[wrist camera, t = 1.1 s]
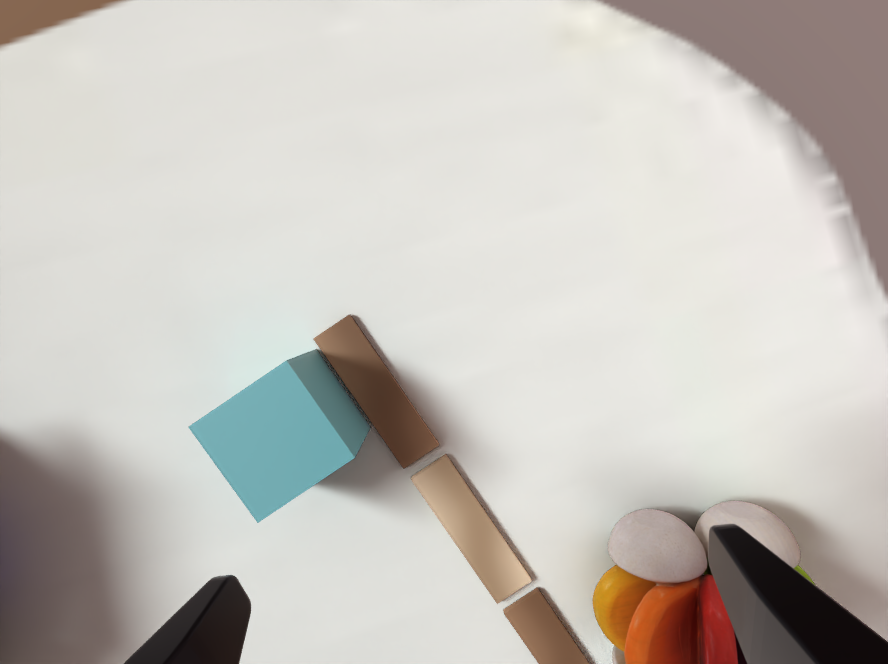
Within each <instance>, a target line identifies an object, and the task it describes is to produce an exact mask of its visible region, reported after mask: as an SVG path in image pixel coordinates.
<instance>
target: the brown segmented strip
mask: <svg viewBox="0 0 888 664" xmlns="http://www.w3.org/2000/svg"><path fill="white" fill-rule="evenodd" d="M314 340H315V342H316V343H317V345H318V346H319V348H320V349H321V350H322V352H323V353H324V355H325V356H326V358H327V359H328V361H329V362H330V363H331V365H332V366H333V368H334V369H335V371H336V372H337V374H338V375H339V376H340V378H341V379H342V381H343V382H344V384H345V385H346V387H347V388H348V389H349V391H350V392H351V394H352V395H353V397H354V398H355V399H356V401H357V402H358V404H359V405H360V407H361V408H362V410H363V411H364V412H365V414H366V415H367V417H368V418H369V420H370V421H371V423H372V424H373V425H374V427H375V428H376V430H377V431H378V433H379V434H380V436H381V437H382V438H383V440H384V441H385V443H386V444H387V446H388V447H389V448H390V450H391V451H392V453H393V454H394V456H395V457H396V459H397V460H398V461H399V463H400V464H401V466H402V467H403V469H404V468H406V467H407V466H409V465H410V464H412V463H413V462H415V461H416V460H418V459H419V458H421V457H422V456H424V455H425V454H427V453H428V452H430V451H431V450H433V449H434V448H436V447H437V446H439V443H438V441H437V440H436V439H435V437H434V436H433V434H432V433H431V431H430V430H429V428H428V427H427V425H426V424H425V422H424V421H423V420H422V418H421V417H420V415H419V414H418V412H417V411H416V409H415V408H414V406H413V405H412V404H411V402H410V401H409V399H408V398H407V396H406V395H405V393H404V392H403V390H402V389H401V387H400V386H399V385H398V383H397V382H396V380H395V379H394V377H393V376H392V374H391V373H390V371H389V370H388V368H387V367H386V366H385V364H384V363H383V361H382V360H381V358H380V357H379V355H378V354H377V352H376V351H375V350H374V348H373V347H372V345H371V344H370V342H369V341H368V339H367V338H366V336H365V335H364V333H363V332H362V331H361V329H360V328H359V326H358V325H357V323H356V322H355V320H354V319H353V317H352V316H351V315H348V316H346V317H345V318H343V319H342V320H340V321H339V322H338V323H336V324H335V325H333V326H332V327H330V328H329V329H327V330H326V331H324V332H323V333H321V334H320V335H318V336H317V337H315V338H314ZM411 480H412V482H413V483H414V485H415V486H416V487H417V489H418V490H419V492H420V493H421V495H422V496H423V498H424V499H425V500H426V502H427V503H428V505H429V506H430V508H431V509H432V510H433V512H434V513H435V515H436V516H437V518H438V519H439V521H440V522H441V523H442V525H443V526H444V528H445V529H446V531H447V532H448V534H449V535H450V536H451V538H452V539H453V541H454V542H455V544H456V545H457V547H458V548H459V549H460V551H461V552H462V554H463V555H464V557H465V558H466V559H467V561H468V562H469V564H470V565H471V567H472V568H473V570H474V571H475V572H476V574H477V575H478V577H479V578H480V580H481V581H482V583H483V584H484V585H485V587H486V588H487V590H488V591H489V593H490V594H491V596H492V597H493V598H494V600H495V601H496V603H497V604H498V603H499V602H501V601H502V600H504V599H505V598H507V597H508V596H510V595H512V594H513V593H515V592H516V591H518V590H519V589H521V588H522V587H524V586H525V585H527V584H528V583H530V582H531V581H532V580H531V577H530V576H529V574H528V573H527V571H526V570H525V568H524V567H523V565H522V564H521V563H520V561H519V560H518V558H517V557H516V555H515V554H514V552H513V551H512V549H511V548H510V547H509V545H508V544H507V542H506V541H505V539H504V538H503V536H502V535H501V533H500V532H499V530H498V529H497V528H496V526H495V525H494V523H493V522H492V520H491V519H490V517H489V516H488V514H487V513H486V511H485V510H484V509H483V507H482V506H481V504H480V503H479V501H478V500H477V498H476V497H475V495H474V494H473V493H472V491H471V490H470V488H469V487H468V485H467V484H466V482H465V481H464V479H463V478H462V476H461V475H460V474H459V472H458V471H457V469H456V468H455V466H454V465H453V463H452V462H451V460H450V459H449V458H448V456H447V455H446V454H445V455H443V456H442V457H440V458H439V459H437V460H436V461H434V462H433V463H431V464H430V465H428V466H427V467H425V468H424V469H422V470H421V471H419V472H418V473H416V474H415V475H413V476H412V477H411ZM503 611H504V614H505V616H506V617H507V619H508V620H509V621H510V623H511V624H512V626H513V627H514V629H515V630H516V632H517V633H518V634H519V636H520V637H521V639H522V640H523V642H524V643H525V645H526V646H527V647H528V649H529V650H530V652H531V653H532V655H533V656H534V658H535V659H536V660H537V662H538V663H539V664H590V663H589V662H588V660H587V659H586V657H585V656H584V654H583V653H582V652H581V650H580V649H579V647H578V646H577V644H576V643H575V641H574V640H573V638H572V637H571V636H570V634H569V633H568V631H567V630H566V628H565V627H564V625H563V624H562V622H561V621H560V619H559V618H558V617H557V615H556V614H555V612H554V611H553V609H552V608H551V606H550V605H549V603H548V602H547V600H546V599H545V598H544V596H543V595H542V593H541V592H540V590H539V589H538V587H537V588H535V589H534V590H532V591H531V592H529V593H528V594H526V595H525V596H523V597H522V598H520V599H519V600H517V601H516V602H514V603H513V604H511V605H510V606H508V607H507V608H505V609H504V610H503Z"/></svg>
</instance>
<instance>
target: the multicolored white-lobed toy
mask: <svg viewBox="0 0 888 664" xmlns="http://www.w3.org/2000/svg"><path fill="white" fill-rule="evenodd" d="M721 524H736V525H738V526H740V527H741V528H742V529H744V530H745V531H746V532H748V533H749V534H750V535H751V536H753V537H754V538H755V539H757V540H758V541H759V542H760V543H762V544H763V545H764V546H766V547H767V548H768V549H769V550H771V551H772V552H773V553H775V554H776V555H777V556H778V557H780V558H781V559H782V560H784V561H785V562H786V563H787V564H789V565H790V566H791V567H792V568H794V569H795V570H796V571H798V572H799V573H800V574H801V575H803V576H804V577H805V578H807V579H808V580H809V581H810V582H812V583H813V584H814V582H813V581H812V580H811V578H810V577H809V576H808V575H807V574H806V572H805V571H804V570H803V569H802V568H801V567H800V566H798V564H799V562H800V549H799V546H798V543H797V541H796V539H795V537H794V535H793V534H792V532H791V531H790V529H789V528H788V527H787V525H786V524H785V523H784V522H783V521H782V520H781V519H780V518H778V517H777V516H776V515H775V514H773V513H772V512H770V511H769V510H767V509H765V508H763V507H761V506H758V505H756V504H752V503H748V502H742V501H727V502H722V503H719V504H716V505H714V506H712V507H711V508H709V509H708V510H706V511H705V512H704V513H703V514H702V515H701V517H700V518H699V520H698V522H697V524H696V527H695V530H694V531H693V530H692V529H691V528H690V527H689V526H688V525H687V524H686V523H685V522H683V521H682V520H681V519H679V518H678V517H676V516H674V515H672V514H670V513H667V512H664V511H660V510H654V509H641V510H637V511H634V512H631V513H629V514H627V515H626V516H624V517H623V518H621V519H620V520H619V522H617V524H616V525H615V527H614V528H613V530H612V532H611V535H610V538H609V542H608V552H609V555H610V557H611V558H612V560H613V561H614V562H615V563H616V564H617V565H615V566H614V567H612V568H611V569H610V570H608V571H607V572H606V573H605V574H604V575H603V576H602V578H601V579H600V581H599V582H598V584H597V586H596V589H595V591H594V595H593V608H594V613H595V617H596V620H597V622H598V624H599V626H600V628H601V629H602V631H603V633H604V634H605V636H606V637H607V638H608V639H609V640H610V641H611V642H612V643H613V644H614V647H613V651H612V660H613V664H747V662H746V659H745V657H744V654H743V652H742V649H741V647H740V644H739V642H738V639H737V636H736V634H735V631H734V629H733V626H732V624H731V621H730V619H729V616H728V613H727V611H726V608H725V606H724V603H723V601H722V598H721V595H720V593H719V590H718V588H717V585H716V583H715V580H714V578H713V575H712V572H711V569H710V566H709V561H708V543H709V529H710V527H711V526H713V525H721ZM704 572H705V575H702V574H703V573H704ZM701 575H702V576H701ZM814 585H815V584H814Z"/></svg>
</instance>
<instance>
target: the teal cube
mask: <svg viewBox="0 0 888 664" xmlns="http://www.w3.org/2000/svg"><path fill="white" fill-rule="evenodd" d="M370 428H371V427H370V425H369V424H368V423H367V421H366V420H365V418H364V417H363V415H362V414H361V413H360V411H359V410H358V408H357V407H356V405H355V404H354V403H353V401H352V400H351V398H350V397H349V395H348V394H347V392H346V391H345V390H344V388H343V387H342V385H341V384H340V382H339V381H338V380H337V378H336V377H335V375H334V374H333V372H332V371H331V369H330V368H329V367H328V365H327V364H326V362H325V361H324V359H323V358H322V357H321V355H320V354H319V352H318V351H317V349H315V350H313V351H310V352H307V353H305V354H302V355H300V356H297V357H294V358H292V359H289V360H287V361H285V362H284V363H282V364H281V365H279V366H278V367H276V368H275V369H273V370H272V371H270V372H269V373H267V374H266V375H264V376H263V377H261V378H260V379H258V380H257V381H255V382H254V383H253V384H251V385H250V386H248V387H247V388H245V389H244V390H242V391H241V392H239V393H238V394H236V395H235V396H233V397H232V398H230V399H229V400H227V401H226V402H224V403H223V404H221V405H220V406H219V407H217V408H216V409H214V410H213V411H211V412H210V413H208V414H207V415H205V416H204V417H202V418H201V419H199V420H198V421H196V422H195V423H193V424H192V425H190V426H189V429H190V430H191V431H192V433H193V434H194V436H195V437H196V438H197V440H198V441H199V442H200V444H201V445H202V447H203V448H204V449H205V451H206V452H207V453H208V455H209V456H210V458H211V459H212V460H213V462H214V463H215V465H216V466H217V467H218V469H219V470H220V471H221V473H222V474H223V476H224V477H225V478H226V480H227V481H228V482H229V484H230V485H231V487H232V488H233V489H234V491H235V492H236V494H237V495H238V496H239V498H240V499H241V500H242V502H243V503H244V505H245V506H246V507H247V509H248V510H249V511H250V513H251V514H252V516H253V517H254V518H255V520H256V521H257V523H258V522H260V521H261V520H263V519H264V518H266V517H267V516H269V515H270V514H272V513H273V512H275V511H276V510H278V509H279V508H281V507H282V506H284V505H285V504H287V503H288V502H290V501H291V500H293V499H294V498H296V497H297V496H299V495H300V494H302V493H303V492H305V491H306V490H308V489H309V488H311V487H312V486H313V485H315V484H316V483H318V482H319V481H321V480H322V479H324V478H325V477H327V476H328V475H330V474H331V473H333V472H334V471H336V470H337V469H339V468H340V467H342V466H343V465H345V464H346V463H348V462H349V461H351V460H352V459H354V458H355V457H356V455H357V453H358V451H359V449H360V447H361V445H362V443H363V441H364V439H365V437H366V436H367V434H368V432H369V430H370Z"/></svg>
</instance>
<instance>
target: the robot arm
mask: <svg viewBox="0 0 888 664" xmlns="http://www.w3.org/2000/svg"><path fill="white" fill-rule="evenodd" d="M708 561H709V566H710V569H711V572H712V575H713V578H714V580H715V583H716V585H717V588H718V590H719V593H720V595H721V598H722V601H723V603H724V606H725V608H726V611H727V613H728V616H729V619H730V621H731V624H732V626H733V629H734V631H735V634H736V636H737V639H738V642H739V644H740V647H741V649H742V652H743V654H744V657H745V659H746V662H747V664H888V642H887V641H886V640H885V639H883V638H882V637H881V636H880V635H878V634H877V633H876V632H875V631H873V630H872V629H871V628H869V627H868V626H867V625H866V624H864V623H863V622H862V621H860V620H859V619H858V618H857V617H855V616H854V615H853V614H851V613H850V612H849V611H848V610H846V609H845V608H844V607H842V606H841V605H840V604H839V603H837V602H836V601H835V600H834V599H832V598H831V597H830V596H828V595H827V594H826V593H825V592H823V591H822V590H821V589H819V588H818V587H817V586H816V585H814V584H813V583H812V582H810V581H809V580H808V579H807V578H805V577H804V576H803V575H801V574H800V573H799V572H798V571H796V570H795V569H794V568H792V567H791V566H790V565H789V564H787V563H786V562H785V561H784V560H782V559H781V558H780V557H778V556H777V555H776V554H775V553H773V552H772V551H771V550H769V549H768V548H767V547H766V546H764V545H763V544H762V543H760V542H759V541H758V540H757V539H755V538H754V537H753V536H751V535H750V534H749V533H748V532H746V531H745V530H744V529H742V528H741V527H740V526H738V525H736V524H721V525H713V526H711V527H710V529H709V543H708ZM250 614H251V602H250V599H249V597H248V596H247V594H246V592H245V591H244V589H243V587H242V586H241V584H240V582H239V581H238V579H237V578H236V577H235V576H233V575H226V576H217V577H214V578H212V579H211V580H209V581H208V582H207V583H206V584H205V585H204V586H203V587H202V588H201V589H200V590H199V591H198V592H197V593H196V594H195V595H194V596H193V597H192V598H191V599H190V600H189V601H188V602H187V603H186V604H185V605H183V606H182V607H181V608H180V609H179V610H178V611H177V612H176V613H175V614H174V615H173V616H172V617H171V618H170V619H169V620H168V621H167V622H166V623H165V624H164V625H163V626H162V627H161V628H160V629H159V630H158V631H157V632H156V633H155V634H154V635H153V636H152V637H151V638H149V639H148V640H147V641H146V642H145V643H144V644H143V645H142V646H141V647H140V648H139V649H138V650H137V651H136V652H135V653H134V654H133V655H132V656H131V657H130V658H129V659H128V660H127V661H126V662H125V663H124V664H239V661H240V657H241V653H242V649H243V644H244V640H245V636H246V631H247V627H248V623H249V618H250Z"/></svg>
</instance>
